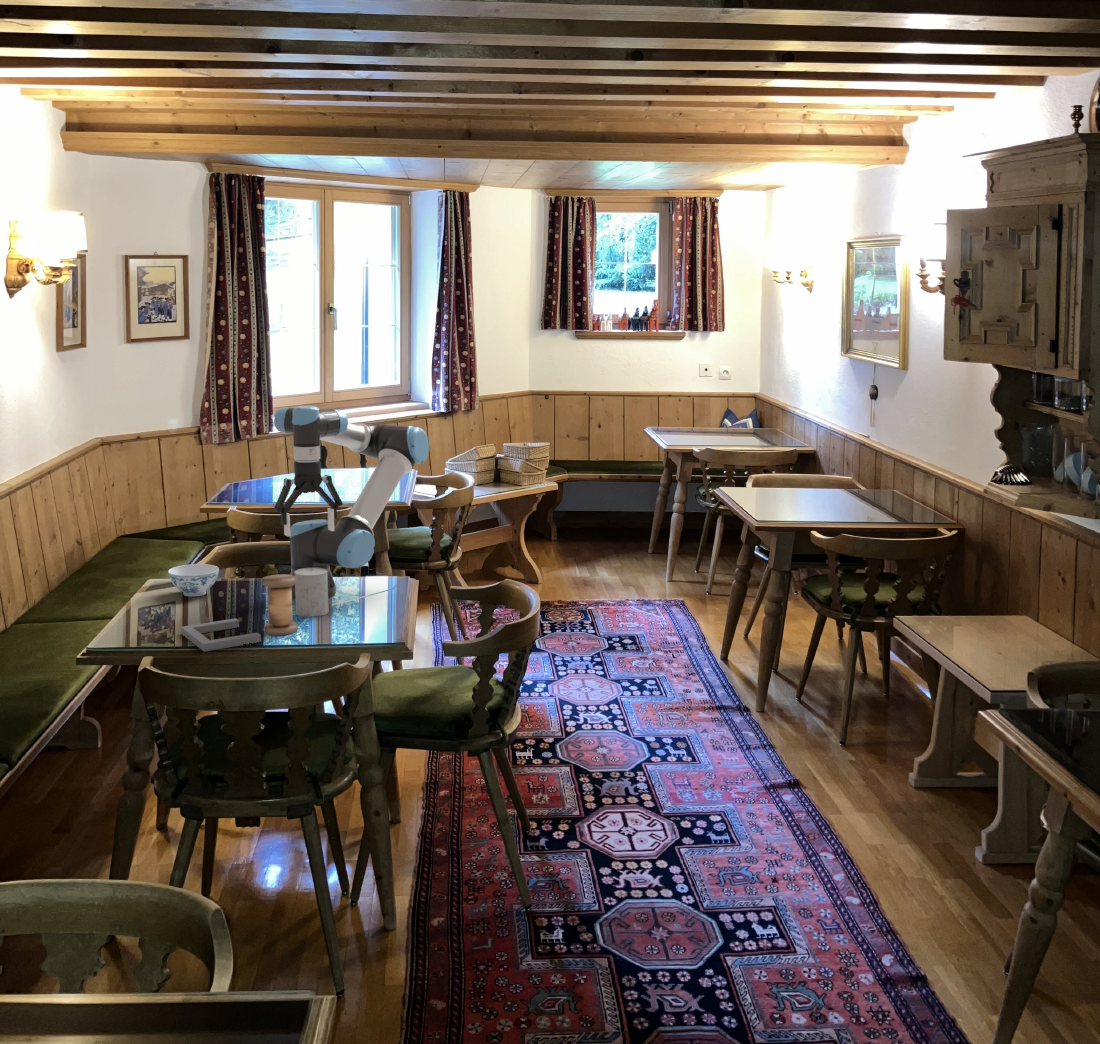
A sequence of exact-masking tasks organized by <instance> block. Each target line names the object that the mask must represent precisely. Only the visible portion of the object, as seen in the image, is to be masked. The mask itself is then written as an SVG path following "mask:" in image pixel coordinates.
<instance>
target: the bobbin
mask: <svg viewBox="0 0 1100 1044" xmlns="http://www.w3.org/2000/svg"><path fill="white" fill-rule="evenodd" d="M294 584H296V577H295V576H293V575H290V574H285V573H283V574H271V575H267V576H263V577H262V578H261V585H262V586H264V587H265V588H266V592H267V593H266V595H267V596H266V597H267V615H268V616H267V618H268V619H267V620H268V621H267V623H265V624H264V626H263V627H264V628H263V629H264V630H263V632H264V633H265V634H266V635H270V636H287V635H292V634H294V633H296V632H297V631H298V623H297V622H294V619H293V617H294V616H293V598H292V585H294Z"/></svg>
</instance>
